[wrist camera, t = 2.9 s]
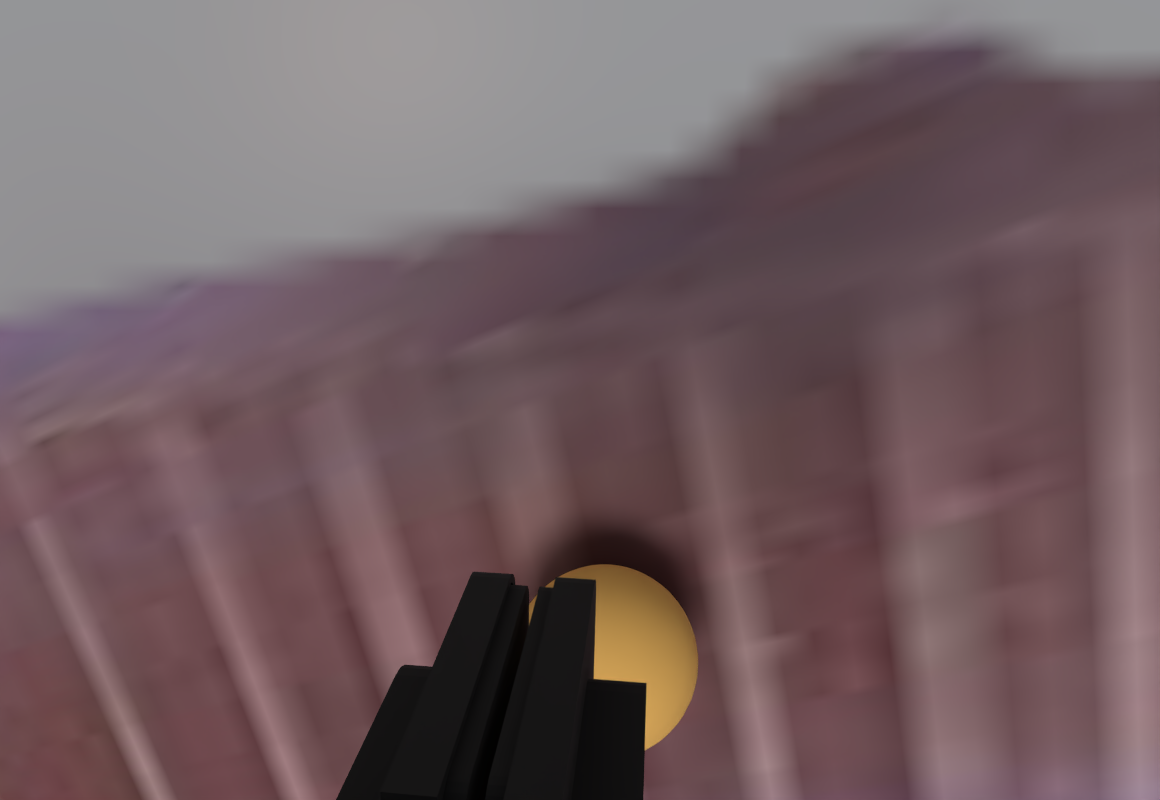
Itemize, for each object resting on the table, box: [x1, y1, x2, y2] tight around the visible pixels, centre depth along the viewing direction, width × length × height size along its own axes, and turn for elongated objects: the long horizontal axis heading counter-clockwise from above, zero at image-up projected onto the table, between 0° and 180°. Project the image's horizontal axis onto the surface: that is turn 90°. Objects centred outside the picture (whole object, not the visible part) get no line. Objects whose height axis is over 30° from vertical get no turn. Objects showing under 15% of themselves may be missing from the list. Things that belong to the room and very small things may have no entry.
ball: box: [529, 564, 698, 750], centre depth 27 cm, size 6×6×6 cm
